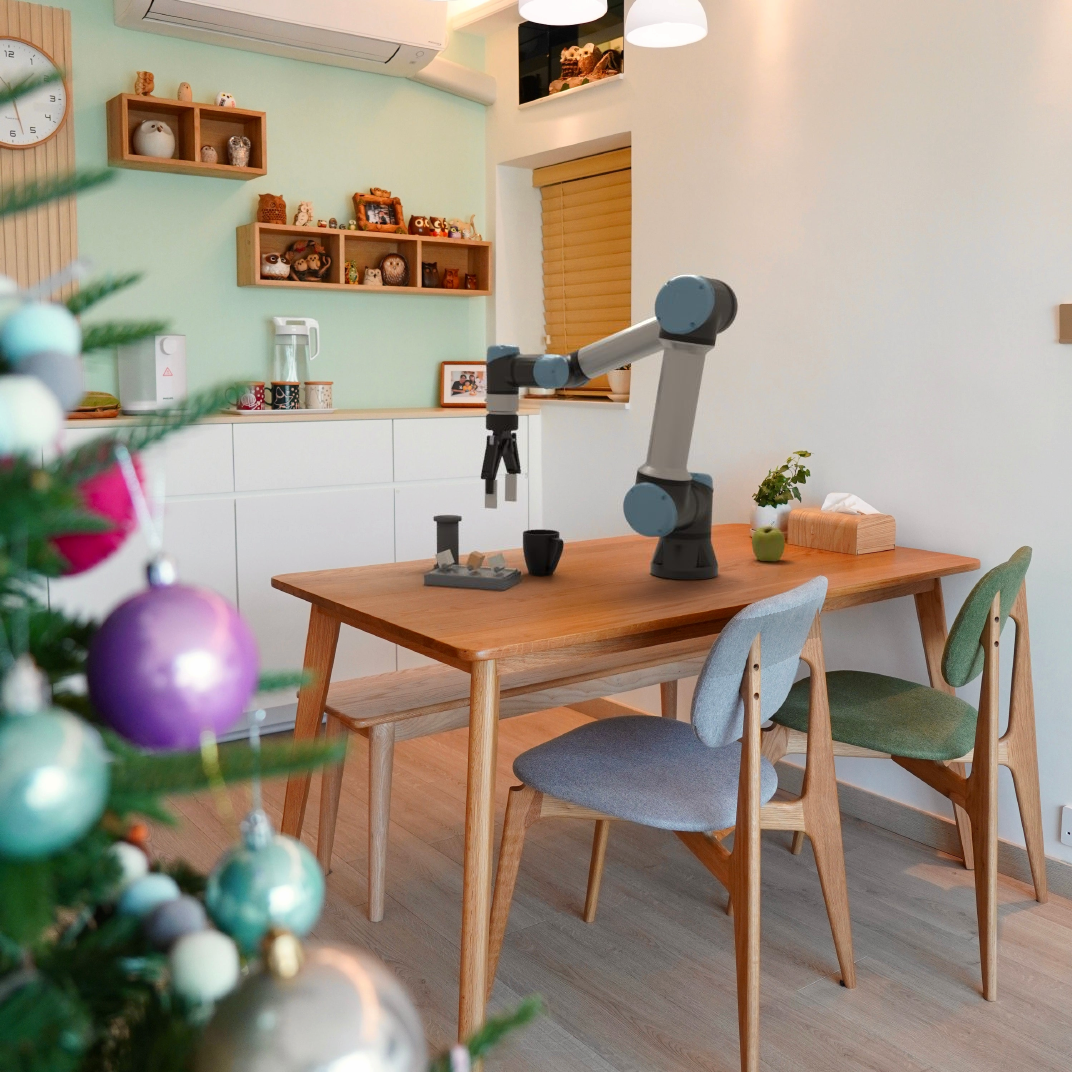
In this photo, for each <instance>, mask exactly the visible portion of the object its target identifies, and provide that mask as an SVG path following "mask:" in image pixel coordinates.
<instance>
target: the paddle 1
mask: <svg viewBox="0 0 1072 1072" xmlns="http://www.w3.org/2000/svg"><path fill="white" fill-rule="evenodd" d="M434 556H435V559H436V563H437V562H438V565H439V567H440V568H441V567H442V569H446V568H448V567H451V566H452V565H453V563H454V559H453V557H452V554H451V551H450V549H449V550H446V551H443V552H441V553H438V554H437V553H436V554H435V555H434Z"/></svg>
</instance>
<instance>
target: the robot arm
mask: <svg viewBox="0 0 1072 1072" xmlns="http://www.w3.org/2000/svg"><path fill="white" fill-rule="evenodd" d="M738 304H739V303H738V298H737V297H736V293H735V292H734V290H733V289H732V287H731V286H730V285H729V284H727V283H726V282H725V281H722V280H719V279H717V278H716V279H715V278H709V277H706V276H705V277H704V276H702V275H698V274H682V275H677V276H674V277H672V278H671V279H669V280H667V282H665V283H664V284H663V286H662V287H661V288H660V289H659V290H658V292H657V295H656V298H655V301H654V316H652V317H650V318H648V319H645V320H644V321H641V322H639V323H637V324H634V325H632V326H628V327H627V328H624V329H623V330H620V331H618V332H615V333H612V334H610V335H609V336H606V337H604V338H601V339H599V340H597V341H595V342H593V343H590V344H588V345H586V346H584V347H581V348H579V349H577V350H574V351H572V352H569V353H567V354H554V353H545V354H544V353H543V354H541V353H539V354H537V353H536V354H535V353H532V354H529V353H528V354H523V353H521V351H520V347H519V345H511V344H508V345H507V344H490V345H489V346H488V348H487V349H486V352H487V353H486V362H485V368H486V370H485V371H486V374H485V375H486V391H485V392H486V394H485V395H486V397H485V398H484V400H483V401H484V402H485V409H486V410H485V411H486V412H488V413H486V415H485V429H486V431H492V435H487V436H486V443H485V444H486V445H485V450H484V458H483V463H482V468H481V474H480V480H484V509H495V510H497V509H498V479H496V478H497V475H498V472H499V469H500V463H501V462H502V461H501V460H502V459H503V463H504V467H505V470H506V473H504V475H505V476H504V501H505V502H512V503H513V502H515V503H516V502H517V499H518V498H517V497H518V496H517V495H518V494H517V493H518V492H517V491H518V489H517V487H518V485H517V484H518V474H519V475H520V474H521V473H522V470H521V463H520V457H519V455H520V454H519V448H518V441H517V432H515V431H518V430H519V415H518V414H517V412H519V411H520V388H527V389H528V388H529V389H530V388H531V389H545V390H553V389H561V388H562V389H565V388H566V389H567V388H568V389H576V388H581V387H585V386H586V385H587V384H589V382H590V381H591V380H593V379H595V378H597V377H600V376H602V375H606V374H607V373H610V372H613V371H615V370H617V369H621V368H622V367H625V366H627V365H630V364H632V363H635V362H637V361H640V360H642V359H644V358H647V357H649V356H651V355H655V354H657V353H660V352H661V351H663V356H662V362H661V368H660V374H659V380H658V387H657V391H656V399H655V403H654V409H653V415H652V423H651V427H650V428H651V430H650V436H649V440H648V447H647V454H646V459H645V462H644V463H643V464H642V465H640V466H639V467H637V469H636V478H635V482H634V483H635V484H634V485H633V486H632V487H631V488H630V489H628V491H627V492H626V494H625V496H624V499H623V503H622V505H623V506H622V509H623V515H624V518H625V520H626V522H627V523H628V525H629V526H630V528H631V529H632V530H633V531H634V532H635V533H637V534H638V535H641V536H643V537H647V538H658V541H657V544H656V547H655V549H654V553H653V555H652V559H651V560H650V569H649V570H650V574H651V575H653V576H656V577H658V578H659V577H660V578H664V579H672V580H686V581H687V580H690V581H691V580H705V579H711V578H716V577H717V576H718V575H719V563H718V560H717V557H716V552H715V549H714V547H713V543H712V529H713V528H712V527H713V526H712V525H713V523H712V522H713V521H712V520H713V503H714V500H713V499H714V498H713V497H714V483H713V482H714V480H713V477H712V476H711V475H710V474H708V473H704V472H703V473H702V472H693V471H692V472H690V471H689V470H688V468H687V467H688V460H689V453H690V449H691V441H692V438H693V432H694V425H695V421H696V414H697V408H698V401H699V397H700V390H701V385H702V381H703V380H702V379H703V375H704V374H703V373H704V372H703V371H704V366H705V361H706V356H707V354H708V353H709V352H710V351H712V350H713V349H714V348H715V346H716V342H717V338H718V337H717V335H719V334H722V333H724V332H725V331H726V330H728V329H729V328H730V327H731V326H732V325H733V323H734V321H735V320H736V316H737V314H738V310H739V309H738V308H739V305H738Z"/></svg>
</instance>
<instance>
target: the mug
mask: <svg viewBox="0 0 1072 1072" xmlns="http://www.w3.org/2000/svg"><path fill="white" fill-rule="evenodd" d="M564 544H565V543H564V540H563V539H562V538H560V532H559V530H555V529H554V530H553V529H527V530H524V531H523V532H522V551H523V557H524V563H525V565H526V569H527V573H528V575H530V576H535V577H548V576H549V577H550V576H552V575H554V572H555V571H556V569H557V567H558V564H559V562H560V560H561V557H562V554H563V551H564Z"/></svg>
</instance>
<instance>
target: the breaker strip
mask: <svg viewBox="0 0 1072 1072" xmlns="http://www.w3.org/2000/svg"><path fill="white" fill-rule="evenodd" d="M467 567H468V566H466V564H461V565H454V564H453V565H452V566H451V567H448V568H446V569H442V567H441V568H438V569H436V570H435V569H434V570H431V571H429V572H427V573H425V574H423V585H424V586H434V587H435V586H438V587H450V588H451V587H452V588H464V589H465V588H467V589H478V590H493V591H505V590H507V589H509V588H511V587H513V586H514V585H516V584H518V583H520V582H521V581H522V570H518V568H514V567H511V568H510V567H505V569H504V570H502V571H500V572H498V573H496V572H494V571H492V570H491V567H490V566H482V565H481V568H479V569H477V570H472V571H469V570H468V569H467Z"/></svg>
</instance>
